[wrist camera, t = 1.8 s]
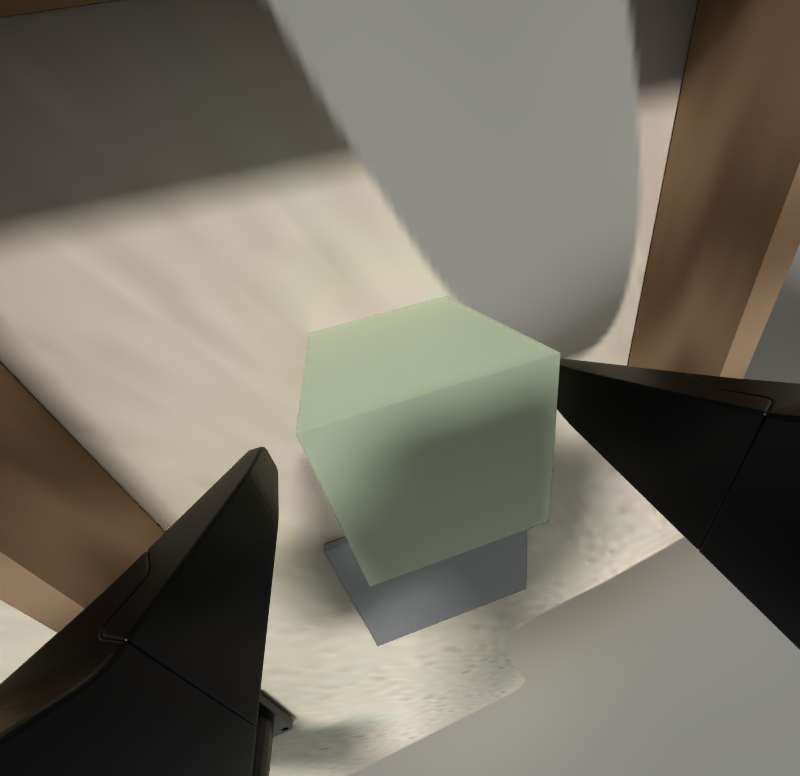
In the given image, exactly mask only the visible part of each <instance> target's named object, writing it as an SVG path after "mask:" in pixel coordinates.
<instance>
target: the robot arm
mask: <svg viewBox="0 0 800 776" xmlns="http://www.w3.org/2000/svg"><path fill="white" fill-rule="evenodd" d="M557 410H558V411H559V412H560V413H561V414H562V416H563V417H564V418H565V419H566V420H567V421H568V423H569V424H570V425H571V426H572V427H573V428H574V429H575V430H576V431H577V432H578V433H579V434H580V435H581V436H582V437H583V438H584V439H585V440H586V441H587V442H588V443H589V444H590V445H591V446H593V447H594V448H595V449H596V450H597V451H598V452H599V453H600V454H601V455H602V456H603V457H604V458H605V459H606V460H607V461H608V462H609V463H610V464H611V465H612V466H613V467H614V468H615V469H616V470H617V471H618V472H619V473H620V474H621V475H622V476H623V477H624V478H625V479H626V480H627V481H628V482H629V483H630V484H631V485H632V486H633V487H634V488H635V489H636V490H637V491H638V492H639V493H641V494H642V495H643V496H644V497H645V498H646V499H647V500H648V501H649V502H650V503H651V504H652V505H653V506H654V507H655V508H656V509H657V510H658V511H659V512H660V513H661V514H662V515H663V516H664V517H665V518H666V519H667V520H668V521H669V522H670V523H671V524H672V525H673V526H674V527H675V528H676V529H677V530H678V531H679V532H680V533H681V534H682V535H683V536H684V537H685V538H687V540H688V541H690V542H691V543H692V544H693V545H694V546H695V547H696V548H697V549H699V551H700V553H701V554H703V555H704V556H705V557H706V558H707V559H708V560H709V561H710V562H711V563H712V564H713V565H714V566H715V567H716V568H717V569H718V570H719V571H720V572H721V573H722V574H723V575H724V576H725V577H726V578H727V579H728V580H729V581H730V582H731V583H732V584H733V585H734V586H735V587H736V588H737V589H738V590H739V591H740V592H741V593H742V594H743V595H744V596H745V597H746V598H747V599H749V601H750V602H752V604H754V605H755V606H756V607H757V608H758V609H759V610H760V611H761V612H762V613H763V614H764V615H765V616H766V617H767V618H768V619H769V620H770V621H771V622H772V623H773V624H774V625H775V626H776V627H777V628H778V629H779V630H780V631H781V632H782V633H783V634H784V635H785V636H786V637H787V638H789V640H790V641H791V642H792V643H793V644H794V645H795V646H796V647H797V648H798V649H799V650H800V384H798V383H784V382H773V381H761V380H750V379H739V378H729V377H719V376H710V375H701V374H692V373H689V374H687V373H683V372H674V371H666V370H657V369H649V368H640V367H631V366H623V365H614V364H605V363H597V362H588V361H579V360H571V359H562V358H560V366H559V381H558V396H557ZM278 518H279V506H278V470H277V467H276V465H275V463H274V462H273V460H272V458H271V456H270V454H269V453H268V451H267V449H266V448H265V447H259V448H255V449H252V450H249V451H248V452H247V453H246V454H245V455H244V456H243V457H242V458H241V459H240V460H239V461H238V462H237V463H236V464H235V465H234V466H233V467H232V468H231V469H230V470H229V471H228V472H227V473H226V474H224V475H223V476H222V477H221V478H220V479H219V480H218V481H217V482H216V483H215V484H214V485H213V486H212V487H211V488H210V489H209V490H208V491H207V492H206V493H205V494H204V495H203V496H202V497H201V498H200V499H199V500H198V501H197V502H196V503H195V504H194V505H193V506H192V507H191V508H190V509H189V510H188V511H187V512H186V513H184V514H183V515H182V516H181V517H180V518H179V519H178V520H177V521H176V522H175V523H174V524H173V525H172V526H171V527H170V528H169V529H168V530H167V531H166V532H165V533H164V534H163V535H162V536H161V537H160V538H159V539H158V540H157V541H156V542H155V543H154V544H153V545H152V546H151V547H150V548H149V549H148V551H146V552H144V553H143V554H142V555H141V556H140V557H139V558H138V559H137V560H136V561H135V562H134V563H133V564H132V565H131V566H130V567H129V568H128V569H127V570H126V571H125V572H124V573H123V574H122V575H121V576H120V577H118V578H117V579H116V580H115V581H114V582H113V583H112V584H111V585H110V586H109V587H108V588H107V589H106V590H105V591H104V592H103V593H101V594H100V595H99V596H98V597H97V598H96V599H95V600H94V601H93V602H92V603H90V604H89V605H88V606H87V607H86V608H85V609H84V610H83V611H82V612H80V613H79V614H78V615H77V616H76V617H75V618H74V619H73V620H72V621H70V622H69V623H68V624H67V625H66V626H65V627H64V628H63V629H62V630H60V631H59V632H58V633H57V634H56V635H55V636H54V637H53V638H51V639H50V640H49V641H48V642H47V643H46V644H45V645H44V646H42V647H41V648H40V649H39V650H38V651H37V652H36V653H35V654H34V655H32V656H31V657H30V658H29V659H28V660H27V661H26V662H25V663H23V664H22V665H21V666H20V667H19V668H18V669H17V670H16V671H14V672H13V673H12V674H11V675H10V676H9V677H8V678H7V679H6V680H4V681H3V682H2V683H1V684H0V776H269V771H270V761H271V751H272V741H273V737H274V736H277V735H279V734H282V733H284V732H286V731H289V730H290V729H292V723H293V719H292V718H291V717H289V716H288V715H287V714H286V713H284V712H283V711H282V710H281V709H279V708H278V707H277V706H276V705H274V704H273V703H272V702H270V701H269V700H268V699H267V698H265V697H264V696H263V695H262V694H260V689H261V679H262V670H263V661H264V652H265V642H266V633H267V624H268V614H269V605H270V596H271V586H272V577H273V568H274V558H275V549H276V540H277V531H278Z"/></svg>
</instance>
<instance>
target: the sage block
mask: <svg viewBox="0 0 800 776" xmlns="http://www.w3.org/2000/svg"><path fill="white" fill-rule="evenodd" d="M559 366H560V353H559V352H557V351H556V350H553V349H552V348H550V347H548V346H546V345H544V344H542V343H539V342H537V341H536V340H534V339H531V338H529V337H527V336H525V335H523V334H521V333H519V332H517V331H515V330H513V329H511V328H509V327H507V326H505V325H503V324H501V323H499V322H497V321H495V320H493V319H491V318H489V317H487V316H485V315H483V314H481V313H479V312H477V311H475V310H473V309H471V308H469V307H467V306H465V305H463V304H461V303H459V302H457V301H455V300H453V299H451V298H449V297H447V296H444V297H440V298H436V299H433V300H429V301H425V302H422V303H418V304H414V305H411V306H407V307H403V308H400V309H396V310H392V311H389V312H385V313H381V314H377V315H374V316H370V317H366V318H363V319H359V320H355V321H352V322H348V323H344V324H341V325H337V326H333V327H330V328H326V329H322V330H319V331H315V332H311V333H309V339H308V346H307V354H306V361H305V368H304V376H303V383H302V390H301V397H300V405H299V412H298V419H297V427H296V436H297V438H298V440H299V442H300V444H301V446H302V448H303V450H304V452H305V454H306V456H307V458H308V460H309V462H310V465H311V467H312V469H313V471H314V473H315V475H316V477H317V479H318V481H319V483H320V485H321V487H322V489H323V491H324V493H325V495H326V497H327V499H328V502H329V504H330V506H331V508H332V510H333V512H334V514H335V516H336V518H337V520H338V522H339V524H340V526H341V528H342V530H343V532H344V534H345V537H346V539H347V541H348V543H349V545H350V547H351V549H352V551H353V553H354V555H355V557H356V559H357V561H358V563H359V565H360V567H361V569H362V572H363V574H364V576H365V578H366V580H367V582H368V584H369V586H370V587H371V586H374V585H376V584H379V583H382V582H384V581H387V580H390V579H393V578H395V577H398V576H401V575H404V574H406V573H409V572H412V571H415V570H417V569H420V568H423V567H425V566H428V565H431V564H434V563H436V562H439V561H442V560H445V559H447V558H450V557H453V556H455V555H458V554H461V553H464V552H466V551H469V550H472V549H475V548H477V547H480V546H483V545H486V544H488V543H491V542H494V541H496V540H499V539H502V538H505V537H507V536H510V535H513V534H516V533H518V532H521V531H524V530H526V529H529V528H532V527H535V526H537V525H540V524H543V523H546V522H548V521H549V514H550V499H551V484H552V470H553V455H554V440H555V425H556V411H557V396H558V381H559Z"/></svg>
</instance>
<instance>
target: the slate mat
mask: <svg viewBox="0 0 800 776" xmlns="http://www.w3.org/2000/svg"><path fill="white" fill-rule="evenodd" d="M324 552H325V554H326V556H327V558H328V559H329V561H330V563H331V565H332V567H333V568H334V570H335V572H336V574H337V575H338V577H339V579H340V581H341V582H342V584H343V586H344V588H345V589H346V591H347V593H348V595H349V596H350V598H351V600H352V602H353V604H354V605H355V607H356V609H357V611H358V612H359V614H360V616H361V618H362V619H363V621H364V623H365V625H366V626H367V628H368V630H369V632H370V633H371V635H372V637H373V639H374V641H375V642H376V644H377V646H380V645H382V644H385V643H387V642H390V641H392V640H395V639H398V638H400V637H403V636H405V635H408V634H411V633H413V632H416V631H418V630H421V629H423V628H426V627H429V626H431V625H434V624H436V623H439V622H441V621H444V620H447V619H449V618H452V617H454V616H457V615H459V614H462V613H465V612H467V611H470V610H472V609H475V608H477V607H480V606H483V605H485V604H488V603H490V602H493V601H495V600H498V599H501V598H503V597H506V596H508V595H511V594H513V593H516V592H519V591H521V590H524V589H526V570H527V529H526V530H524V531H521V532H518V533H516V534H513V535H510V536H507V537H505V538H502V539H499V540H496V541H494V542H491V543H488V544H486V545H483V546H480V547H477V548H475V549H472V550H469V551H466V552H464V553H461V554H458V555H455V556H453V557H450V558H447V559H445V560H442V561H439V562H436V563H434V564H431V565H428V566H425V567H423V568H420V569H417V570H415V571H412V572H409V573H406V574H404V575H401V576H398V577H395V578H393V579H390V580H387V581H384V582H382V583H379V584H376V585H374V586H371V587H370V586H369V584H368V582H367V580H366V578H365V576H364V574H363V572H362V569H361V567H360V565H359V563H358V561H357V559H356V557H355V555H354V553H353V551H352V549H351V547H350V545H349V543H348V541H347V539H346V537H345V538H342V539H339V540H336V541H333V542H330V543H327V544H324Z"/></svg>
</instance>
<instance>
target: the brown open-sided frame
mask: <svg viewBox="0 0 800 776" xmlns="http://www.w3.org/2000/svg"><path fill="white" fill-rule="evenodd" d="M105 1H112V0H0V17H4V16H11V15H18V14H24V13H31V12H38V11H45V10H51V9H58V8H65V7H72V6H78V5H85V4H92V3H99V2H105ZM799 244H800V0H699V2H698V7H697V13H696V18H695V23H694V28H693V33H692V38H691V43H690V49H689V54H688V59H687V64H686V69H685V74H684V79H683V85H682V90H681V95H680V100H679V105H678V110H677V115H676V121H675V126H674V131H673V136H672V141H671V146H670V151H669V157H668V162H667V167H666V172H665V177H664V182H663V187H662V193H661V198H660V203H659V208H658V213H657V218H656V223H655V229H654V234H653V239H652V244H651V249H650V254H649V259H648V265H647V270H646V275H645V280H644V285H643V290H642V295H641V301H640V306H639V311H638V316H637V321H636V326H635V331H634V337H633V342H632V347H631V352H630V357H629V362H628V366H631V367H640V368H649V369H657V370H666V371H674V372H683V373H687V374H689V373H692V374H701V375H710V376H719V377H729V378H739V379H743V377H744V375H745V372H746V370H747V368H748V365H749V363H750V361H751V358H752V356H753V354H754V351H755V349H756V346H757V344H758V342H759V339H760V337H761V335H762V332H763V330H764V327H765V325H766V323H767V320H768V318H769V315H770V313H771V311H772V308H773V306H774V303H775V301H776V299H777V296H778V294H779V292H780V289H781V287H782V284H783V282H784V280H785V277H786V275H787V272H788V270H789V268H790V265H791V263H792V261H793V258H794V256H795V253H796V251H797V249H798V246H799ZM164 533H165V532H164V531H163V530H162V529H161V528H160V527H159V526H158V525H157V524H156V523H155V522H154V521H153V520H152V519H151V518H150V517H149V516H148V515H147V514H146V513H145V512H144V511H143V510H142V509H141V508H140V507H139V506H138V505H137V504H136V503H135V501H134V500H133V499H132V498H131V497H130V496H129V495H128V494H127V493H126V492H125V491H124V490H123V489H122V488H121V487H120V486H119V485H118V484H117V483H116V482H115V481H114V480H113V479H112V478H111V477H110V476H109V475H108V474H107V473H106V472H105V471H104V469H103V468H102V467H101V466H100V465H99V464H98V463H97V462H96V461H95V460H94V459H93V458H92V457H91V456H90V455H89V454H88V453H87V452H86V451H85V450H84V449H83V448H82V447H81V446H80V445H79V444H78V443H77V442H76V441H75V440H74V439H73V437H72V436H71V435H70V434H69V433H68V432H67V431H66V430H65V429H64V428H63V427H62V426H61V425H60V424H59V423H58V422H57V421H56V420H55V419H54V418H53V417H52V416H51V415H50V414H49V413H48V412H47V411H46V410H45V409H44V408H43V407H42V405H41V404H40V403H39V402H38V401H37V400H36V399H35V398H34V397H33V396H32V395H31V394H30V393H29V392H28V391H27V390H26V389H25V388H24V387H23V386H22V385H21V384H20V383H19V382H18V381H17V380H16V379H15V378H14V377H13V376H12V375H11V373H10V372H9V371H8V370H7V369H6V368H5V367H4V366H3V365H2V364H1V363H0V600H2V601H4V602H6V603H7V604H9V605H11V606H12V607H14V608H16V609H18V610H19V611H21V612H23V613H24V614H26V615H28V616H30V617H31V618H33V619H35V620H37V621H38V622H40V623H42V624H43V625H45V626H47V627H49V628H50V629H52V630H54V631H56V632H57V633H58V632H59V631H60V630H62V629H63V628H64V627H65V626H66V625H67V624H68V623H69V622H70V621H72V620H73V619H74V618H75V617H76V616H77V615H78V614H79V613H80V612H82V611H83V610H84V609H85V608H86V607H87V606H88V605H89V604H90V603H92V602H93V601H94V600H95V599H96V598H97V597H98V596H99V595H100V594H101V593H103V592H104V591H105V590H106V589H107V588H108V587H109V586H110V585H111V584H112V583H113V582H114V581H115V580H116V579H117V578H118V577H120V576H121V575H122V574H123V573H124V572H125V571H126V570H127V569H128V568H129V567H130V566H131V565H132V564H133V563H134V562H135V561H136V560H137V559H138V558H139V557H140V556H141V555H142V554H143V553H144V552H146V551H148V549H149V548H150V547H151V546H152V545H153V544H154V543H155V542H156V541H157V540H158V539H159V538H160V537H161V536H162V535H163V534H164Z"/></svg>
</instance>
